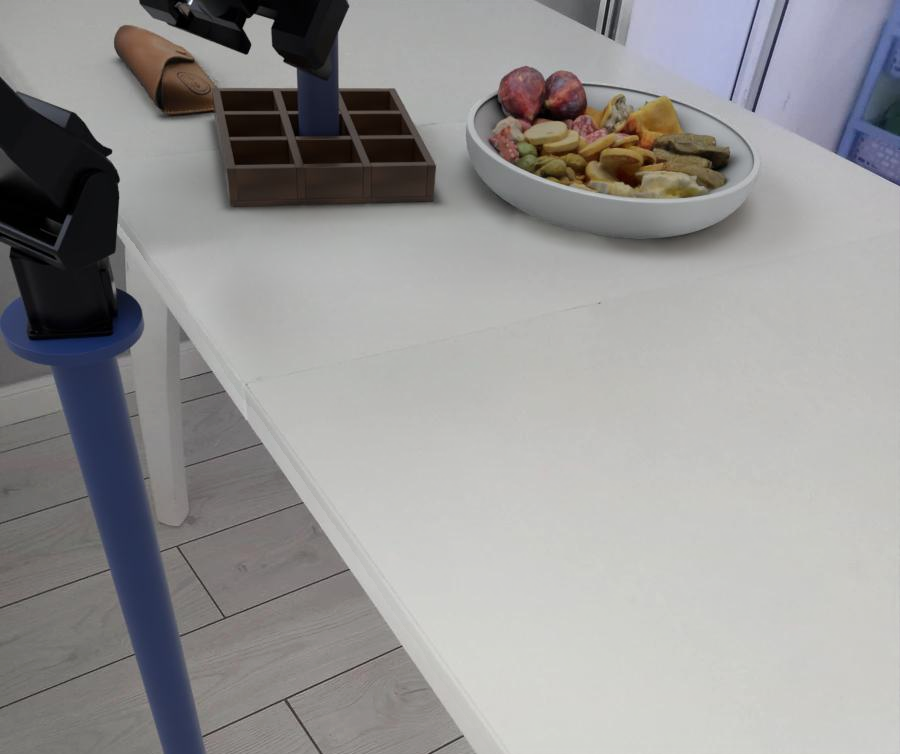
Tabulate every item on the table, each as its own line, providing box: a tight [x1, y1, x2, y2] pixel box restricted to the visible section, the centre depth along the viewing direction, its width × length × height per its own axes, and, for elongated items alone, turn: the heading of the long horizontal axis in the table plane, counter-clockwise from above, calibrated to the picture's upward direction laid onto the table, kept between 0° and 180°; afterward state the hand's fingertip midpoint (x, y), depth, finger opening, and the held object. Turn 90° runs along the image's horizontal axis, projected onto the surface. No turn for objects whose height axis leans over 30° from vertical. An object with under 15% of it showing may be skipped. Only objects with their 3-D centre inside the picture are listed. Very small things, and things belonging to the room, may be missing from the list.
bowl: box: [465, 65, 762, 239], centre depth 91 cm, size 30×30×8 cm
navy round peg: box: [296, 33, 340, 136], centre depth 87 cm, size 4×4×13 cm
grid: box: [212, 87, 437, 207], centre depth 91 cm, size 20×20×4 cm
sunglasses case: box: [113, 24, 218, 116], centre depth 101 cm, size 18×7×7 cm
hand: (287, 62), depth 82 cm, fingers open, 9 cm apart
